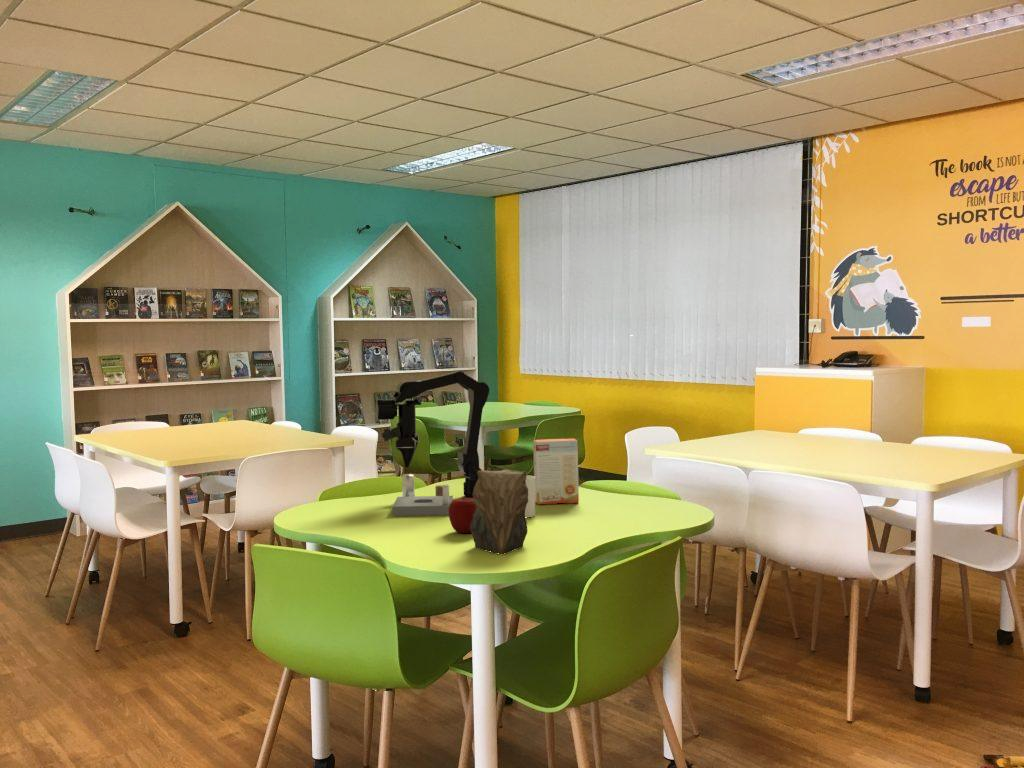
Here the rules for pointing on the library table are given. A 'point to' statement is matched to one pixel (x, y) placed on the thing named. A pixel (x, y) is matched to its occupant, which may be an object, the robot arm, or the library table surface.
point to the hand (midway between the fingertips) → (408, 465)
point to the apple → (461, 514)
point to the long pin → (408, 485)
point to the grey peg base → (423, 505)
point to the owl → (500, 510)
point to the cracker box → (556, 471)
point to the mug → (530, 496)
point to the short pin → (439, 490)
